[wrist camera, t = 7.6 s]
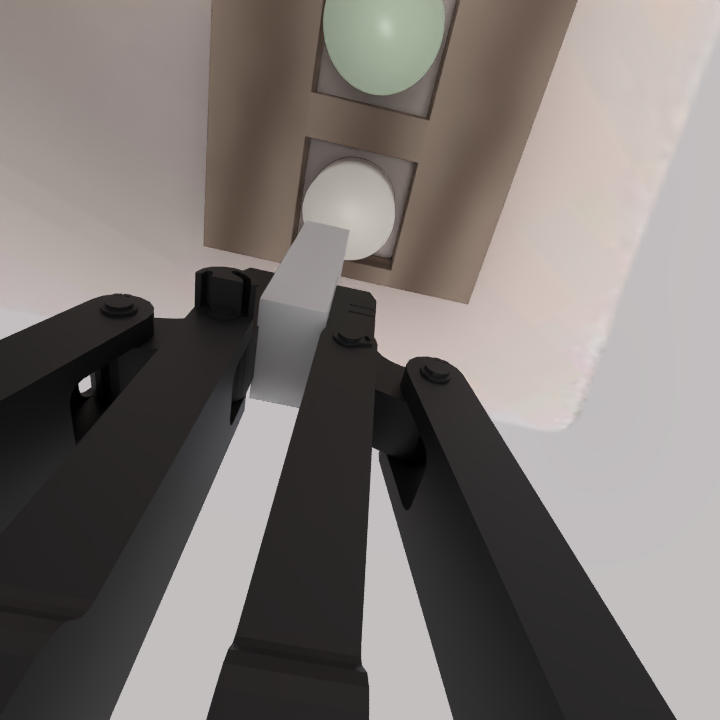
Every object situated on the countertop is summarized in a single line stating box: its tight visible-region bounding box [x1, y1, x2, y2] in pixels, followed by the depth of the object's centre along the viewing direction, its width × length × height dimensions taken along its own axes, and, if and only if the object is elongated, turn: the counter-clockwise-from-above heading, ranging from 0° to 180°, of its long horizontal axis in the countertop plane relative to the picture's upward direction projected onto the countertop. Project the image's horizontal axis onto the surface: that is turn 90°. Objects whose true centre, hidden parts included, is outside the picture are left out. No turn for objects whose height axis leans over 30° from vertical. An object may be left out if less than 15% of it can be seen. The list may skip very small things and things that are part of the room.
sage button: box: [323, 0, 445, 95], centre depth 20 cm, size 5×5×3 cm
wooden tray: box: [204, 0, 578, 304], centre depth 22 cm, size 16×24×2 cm, turn 168°
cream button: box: [302, 157, 395, 260], centre depth 25 cm, size 5×5×3 cm
